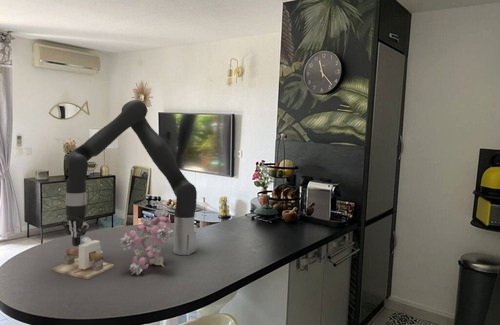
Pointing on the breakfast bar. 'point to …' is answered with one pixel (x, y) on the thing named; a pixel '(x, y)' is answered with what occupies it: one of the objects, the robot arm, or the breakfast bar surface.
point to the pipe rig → (73, 268)
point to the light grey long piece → (87, 239)
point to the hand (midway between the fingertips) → (76, 245)
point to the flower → (152, 232)
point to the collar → (84, 253)
